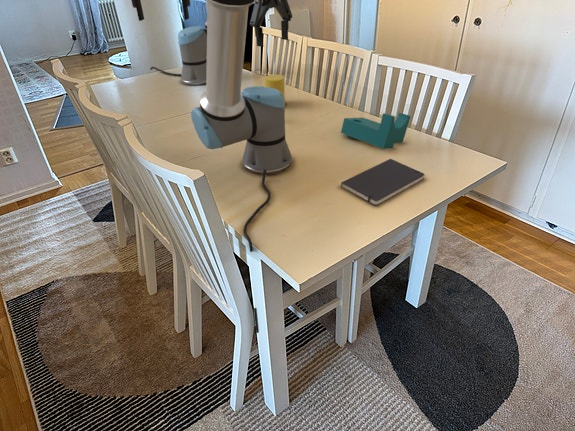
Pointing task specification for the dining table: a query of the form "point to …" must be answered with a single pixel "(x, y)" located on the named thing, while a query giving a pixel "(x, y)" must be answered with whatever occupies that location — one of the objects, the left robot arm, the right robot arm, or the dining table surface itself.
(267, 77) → the can
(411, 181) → the notebook
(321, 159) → the dining table surface
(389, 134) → the teal l-shaped bracket
